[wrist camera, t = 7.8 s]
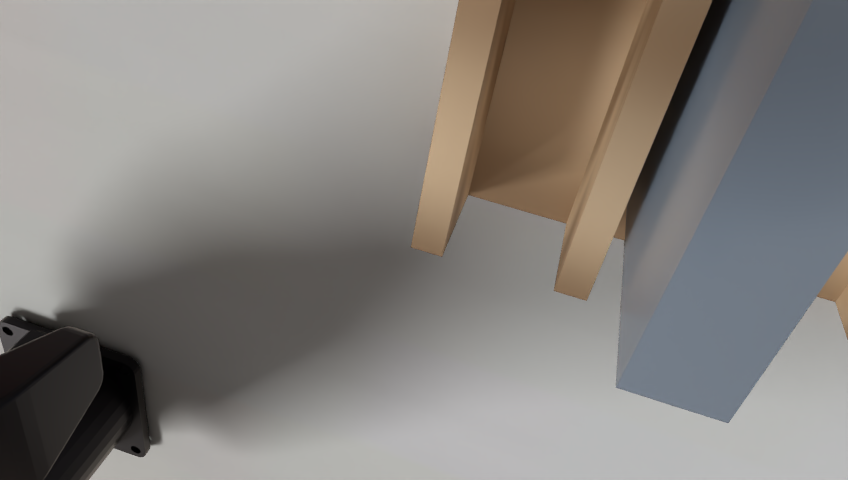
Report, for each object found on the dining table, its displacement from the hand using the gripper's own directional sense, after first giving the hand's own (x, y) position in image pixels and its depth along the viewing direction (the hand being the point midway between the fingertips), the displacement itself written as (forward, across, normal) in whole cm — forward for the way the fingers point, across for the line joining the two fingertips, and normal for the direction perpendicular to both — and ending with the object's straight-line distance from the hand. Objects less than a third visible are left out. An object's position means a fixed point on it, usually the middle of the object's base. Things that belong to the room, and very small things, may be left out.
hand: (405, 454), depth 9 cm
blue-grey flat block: (+10, -4, -4) cm, 12 cm away
